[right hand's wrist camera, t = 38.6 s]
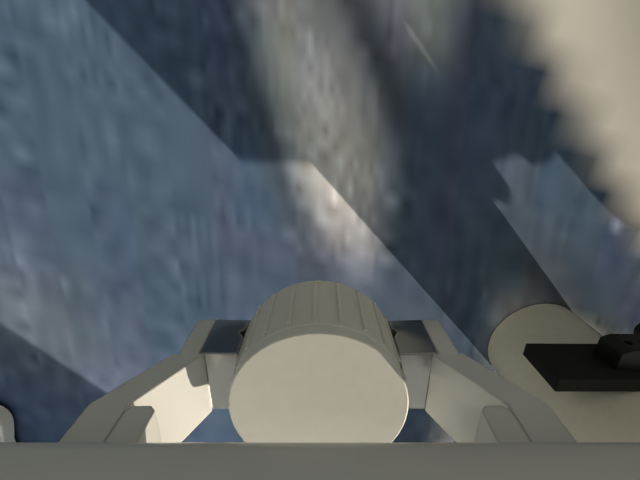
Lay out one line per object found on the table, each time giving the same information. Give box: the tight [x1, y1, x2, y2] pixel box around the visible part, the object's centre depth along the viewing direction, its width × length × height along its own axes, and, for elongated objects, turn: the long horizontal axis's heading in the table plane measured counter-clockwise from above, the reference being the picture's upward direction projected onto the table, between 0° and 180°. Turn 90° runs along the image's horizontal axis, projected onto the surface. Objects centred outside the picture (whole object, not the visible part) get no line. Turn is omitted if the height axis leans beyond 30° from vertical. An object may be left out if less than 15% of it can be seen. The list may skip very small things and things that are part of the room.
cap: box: [228, 281, 409, 443], centre depth 9 cm, size 4×4×2 cm
